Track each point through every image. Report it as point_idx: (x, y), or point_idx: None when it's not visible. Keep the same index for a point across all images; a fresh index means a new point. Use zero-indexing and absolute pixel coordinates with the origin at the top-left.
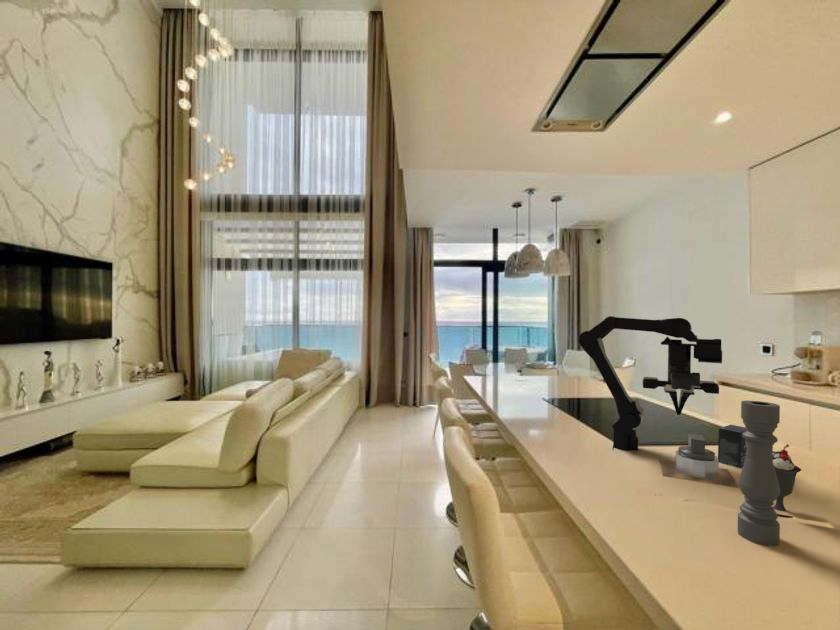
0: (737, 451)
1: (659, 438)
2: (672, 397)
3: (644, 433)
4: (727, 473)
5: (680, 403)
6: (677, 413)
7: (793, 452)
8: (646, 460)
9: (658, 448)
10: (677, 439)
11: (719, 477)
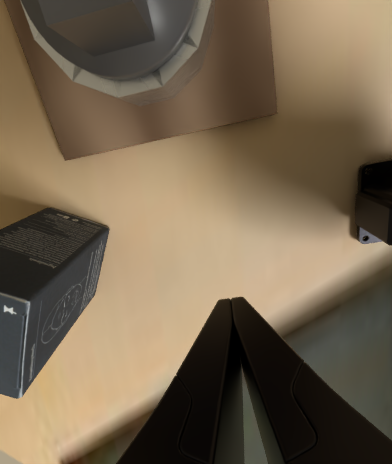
0: (15, 230)
1: None
2: (383, 457)
3: None
4: (53, 104)
5: (221, 377)
6: (240, 300)
7: (8, 432)
8: (320, 111)
9: (282, 293)
10: None
11: None
